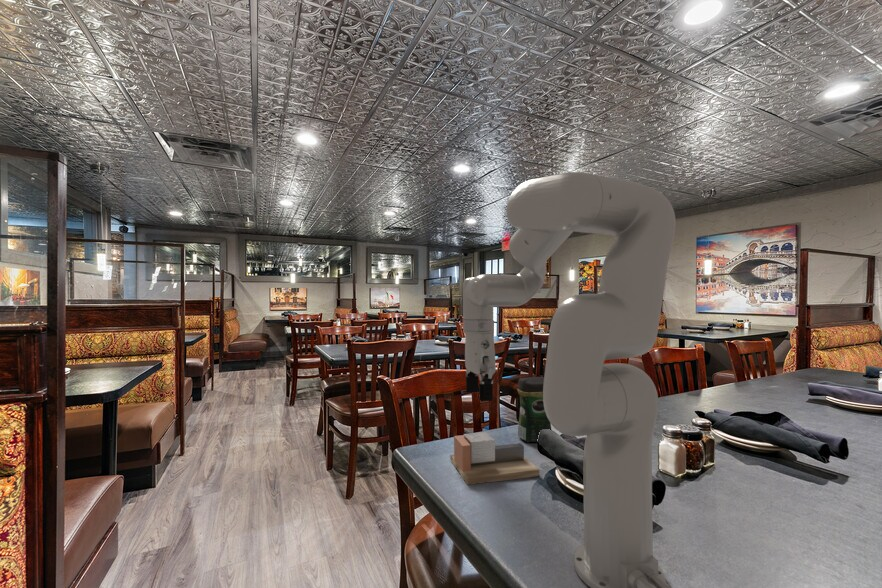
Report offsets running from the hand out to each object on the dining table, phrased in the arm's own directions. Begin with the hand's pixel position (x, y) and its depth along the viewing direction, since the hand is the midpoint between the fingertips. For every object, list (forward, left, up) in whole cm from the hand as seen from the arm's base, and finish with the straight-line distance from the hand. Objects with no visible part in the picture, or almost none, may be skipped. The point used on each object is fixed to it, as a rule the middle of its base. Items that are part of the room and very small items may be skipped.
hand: (478, 396), depth 96 cm
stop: (0, +4, -16) cm, 17 cm away
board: (0, -4, -18) cm, 18 cm away
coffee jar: (+16, -24, -18) cm, 34 cm away
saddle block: (0, 0, -15) cm, 15 cm away
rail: (0, -4, -17) cm, 17 cm away
